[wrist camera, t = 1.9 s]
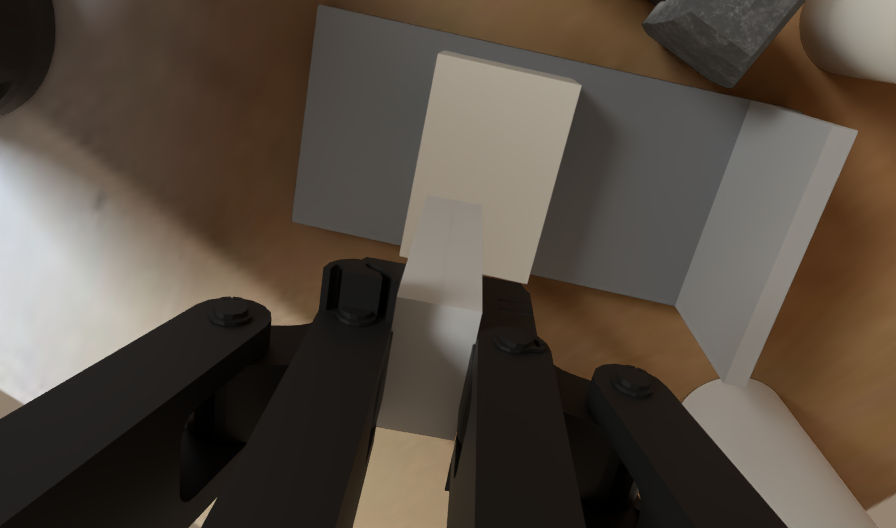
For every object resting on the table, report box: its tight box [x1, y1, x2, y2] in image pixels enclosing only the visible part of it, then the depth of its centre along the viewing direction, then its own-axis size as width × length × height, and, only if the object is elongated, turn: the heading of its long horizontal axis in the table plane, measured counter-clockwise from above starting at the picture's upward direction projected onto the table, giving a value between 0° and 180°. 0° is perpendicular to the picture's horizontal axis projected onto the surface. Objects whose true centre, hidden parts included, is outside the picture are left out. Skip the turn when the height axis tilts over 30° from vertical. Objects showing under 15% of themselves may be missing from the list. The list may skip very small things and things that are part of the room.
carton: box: [399, 50, 582, 284], centre depth 39 cm, size 8×12×4 cm, turn 168°
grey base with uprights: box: [291, 4, 858, 388], centre depth 37 cm, size 30×14×12 cm, turn 78°
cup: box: [682, 378, 878, 528], centre depth 41 cm, size 8×8×16 cm
